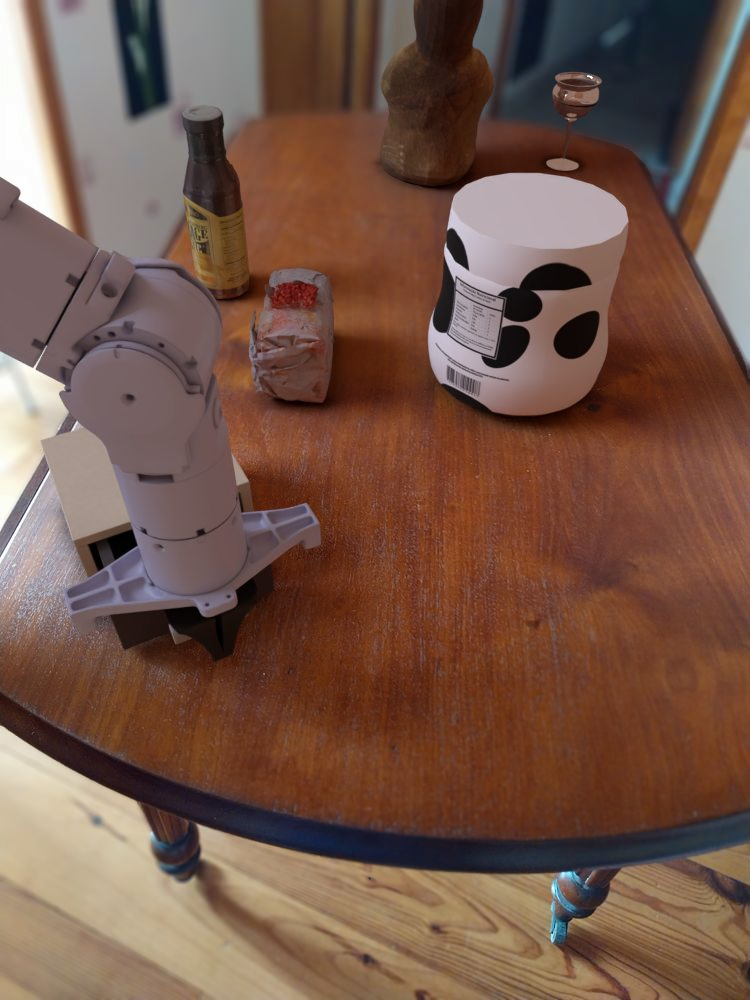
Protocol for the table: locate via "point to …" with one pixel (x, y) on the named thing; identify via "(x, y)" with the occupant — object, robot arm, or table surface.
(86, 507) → the beige box-shaped shell
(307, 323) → the food item
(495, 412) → the milk container
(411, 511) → the table surface
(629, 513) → the table surface
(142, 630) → the drawer
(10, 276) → the robot arm
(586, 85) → the wineglass
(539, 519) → the table surface
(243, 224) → the sauce bottle
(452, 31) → the ceramic vessel
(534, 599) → the table surface
